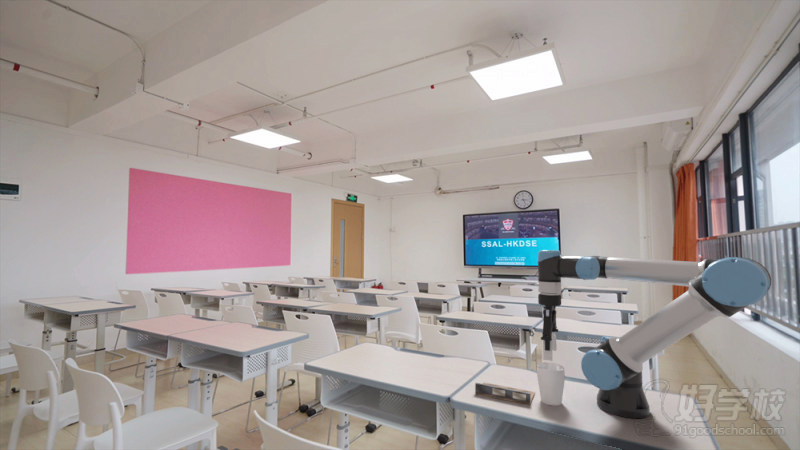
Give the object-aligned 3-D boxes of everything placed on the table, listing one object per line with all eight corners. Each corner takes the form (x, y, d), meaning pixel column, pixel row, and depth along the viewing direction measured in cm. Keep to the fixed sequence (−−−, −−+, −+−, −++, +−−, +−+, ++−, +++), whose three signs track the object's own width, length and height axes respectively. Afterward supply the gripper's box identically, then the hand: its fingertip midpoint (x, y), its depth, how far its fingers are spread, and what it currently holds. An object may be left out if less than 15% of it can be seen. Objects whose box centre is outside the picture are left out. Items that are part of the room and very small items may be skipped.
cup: (568, 408, 121) (567, 371, 122) (539, 405, 123) (539, 369, 124) (562, 397, 130) (561, 363, 131) (535, 395, 132) (535, 361, 133)
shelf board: (534, 393, 133) (534, 383, 134) (529, 405, 124) (529, 394, 124) (483, 383, 142) (483, 374, 143) (475, 393, 133) (475, 383, 133)
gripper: (542, 289, 142) (543, 345, 140) (532, 296, 120) (533, 362, 118) (563, 290, 138) (564, 347, 137) (557, 298, 116) (558, 366, 115)
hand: (550, 354), depth 128 cm, fingers open, 13 cm apart
